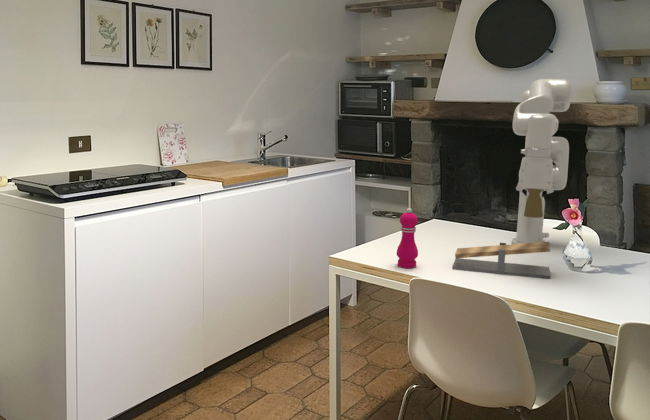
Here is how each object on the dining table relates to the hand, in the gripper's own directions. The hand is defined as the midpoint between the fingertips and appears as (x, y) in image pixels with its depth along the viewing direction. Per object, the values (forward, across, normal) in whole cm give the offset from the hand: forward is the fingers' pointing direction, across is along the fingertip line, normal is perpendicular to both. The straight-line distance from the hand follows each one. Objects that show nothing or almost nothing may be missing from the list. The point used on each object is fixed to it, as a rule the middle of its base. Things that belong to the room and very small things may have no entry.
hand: (533, 209), depth 202 cm
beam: (+15, -9, -1) cm, 17 cm away
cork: (+2, 0, 0) cm, 2 cm away
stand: (+21, -9, -1) cm, 23 cm away
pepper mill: (+21, -39, -9) cm, 45 cm away
